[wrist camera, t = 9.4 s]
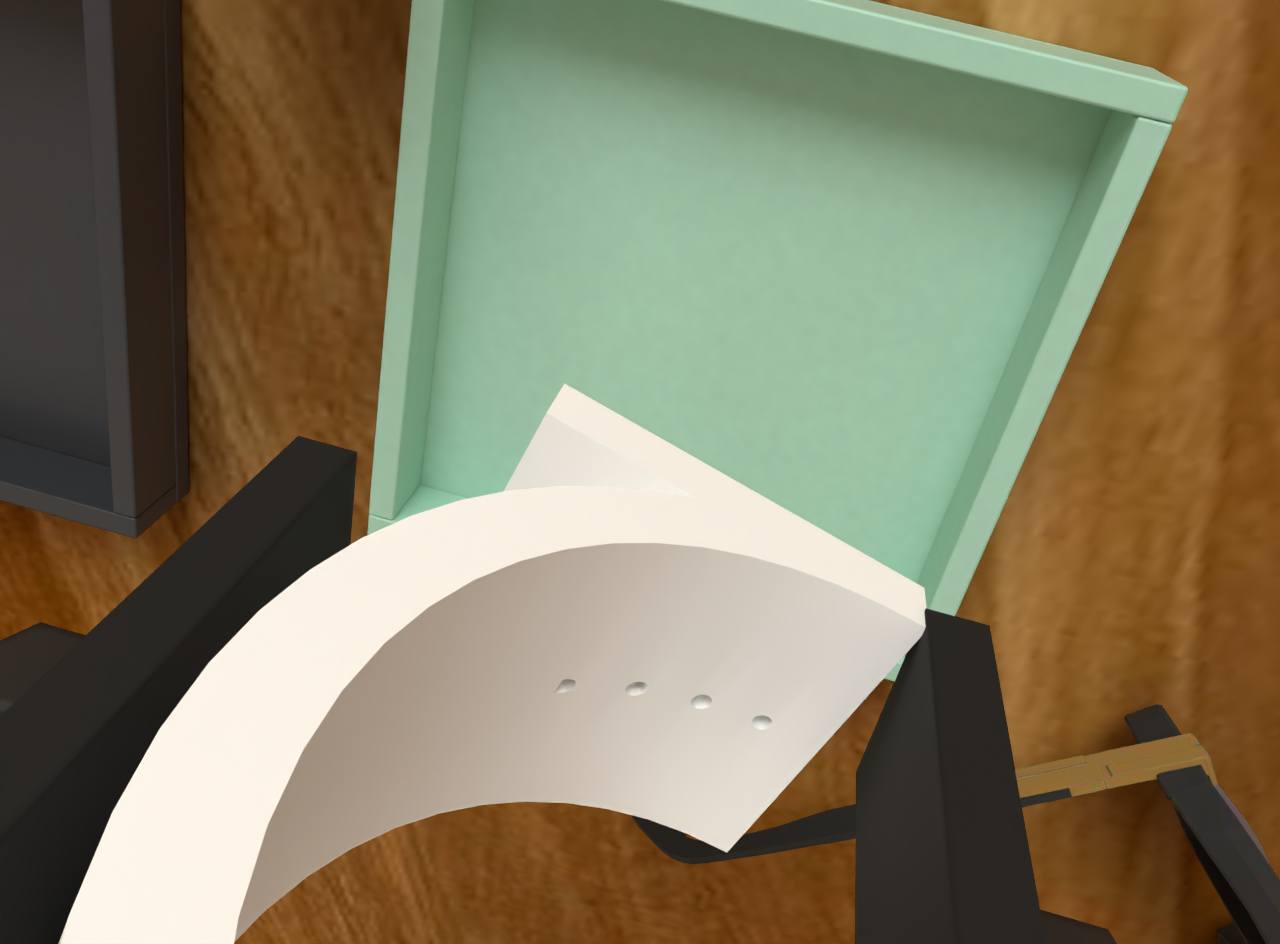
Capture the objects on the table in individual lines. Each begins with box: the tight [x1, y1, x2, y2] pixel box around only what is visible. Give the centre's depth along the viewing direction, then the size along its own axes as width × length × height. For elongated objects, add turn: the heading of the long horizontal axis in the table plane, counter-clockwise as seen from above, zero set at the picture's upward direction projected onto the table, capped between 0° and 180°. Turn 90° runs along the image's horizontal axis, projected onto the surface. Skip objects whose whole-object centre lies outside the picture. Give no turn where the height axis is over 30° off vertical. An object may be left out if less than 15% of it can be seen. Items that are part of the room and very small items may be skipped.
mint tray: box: [368, 0, 1188, 682], centre depth 22 cm, size 13×13×2 cm
